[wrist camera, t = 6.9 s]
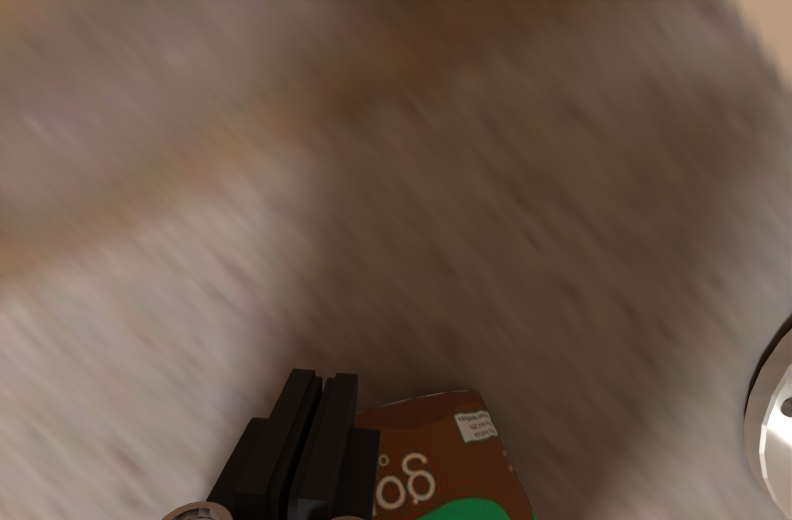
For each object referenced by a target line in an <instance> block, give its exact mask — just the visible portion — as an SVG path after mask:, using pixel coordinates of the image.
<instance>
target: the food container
mask: <svg viewBox="0 0 792 520" xmlns="http://www.w3.org/2000/svg"><path fill="white" fill-rule="evenodd" d="M355 427H357V428H367V429H377V430H381V434H380V446H379V457H378V468H377V478H376V488H375V497H374V506H373V516H372V520H537V518H536V515H535V513H534V511H533V509H532V507H531V505H530V502H529V500H528V498H527V496H526V494H525V492H524V489H523V487H522V485H521V483H520V481H519V479H518V476H517V474H516V472H515V470H514V468H513V466H512V463H511V461H510V459H509V457H508V455H507V453H506V450H505V448H504V446H503V444H502V442H501V440H500V437H499V435H498V433H497V431H496V429H495V426H494V424H493V422H492V420H491V418H490V416H489V413H488V411H487V409H486V407H485V405H484V403H483V400H482V398H481V396H480V394H479V392H478V391H474V390H461V391H448V392H443V393H437V394H431V395H425V396H419V397H414V398H410V399H406V400H402V401H397V402H393V403H389V404H385V405H381V406H376V407H372V408H368V409H365V410H361V411H358V412H356V414H355Z"/></svg>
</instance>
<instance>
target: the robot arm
mask: <svg viewBox="0 0 792 520" xmlns="http://www.w3.org/2000/svg"><path fill="white" fill-rule="evenodd" d="M357 384H358V375H357V374H346V373H337V374H336V376H335V378H329V377H328V379H327V381H326V384H325V387H324V390H323V393H322V377H318V376H316V374H315V370H305V369H295V368H294V369H293V370H292V372H291V374H290V376H289V378H288V380H287V382H286V384H285V386H284V388H283V390H282V392H281V394H280V396H279V398H278V400H277V402H276V404H275V406H274V408H273V411H272V413H271V415H270V417H269V419H265V418H255V417H254V418H252V419H251V420H250V422H249V423H248V425H247V427H246V429H245V431H244V433H243V434H242V436H241V438H240V440H239V442H238V444H237V445H236V447H235V449H234V451H233V453H232V455H231V456H230V458H229V460H228V462H227V464H226V466H225V467H224V469H223V471H222V473H221V475H220V477H219V478H218V480H217V482H216V484H215V486H214V487H213V489H212V491H211V493H210V495H209V497H208V498H207V500H206V502H205V501H202V502H195V503H190V504H187V505H184V506H182V507H179V508H177V509H175V510H174V511H172V512H171V513H169V514H167V515H166V516H165V517H164V518H163V519H162V520H372V516H373V506H374V497H375V488H376V478H377V468H378V457H379V446H380V434H381V430H377V429H367V428H357V427H355V414H356V399H357ZM744 450H745V453H746V456H747V460H748V463H749V466H750V470H751V473H752V474H753V476H754V478H755V479H756V481H757V482H758V484H759V486H760V487H761V489H762V491H763V492H764V493H765V494H766V496H767V497H768V498H769V499H770V500H771V501H772V502H773V503H774V504H775V505H776V506H777V507H778V508H779V509H780V510H781V512H782V513H783V514H784V515H785V516H786V517H787V518H788V519H789V520H792V328H791V330H790V331H789V332H788V333H787V334H786V335H785V336H784V337H783V338H782V339H781V340H780V342H779V343H778V345H777V346H776V348H775V349H774V351H773V352H772V354H771V355H770V357H769V358H768V360H767V361H766V362H765V364H764V365H763V367H762V369H761V371H760V373H759V376H758V378H757V380H756V382H755V385H754V387H753V389H752V391H751V394H750V396H749V401H748V405H747V410H746V415H745V420H744Z"/></svg>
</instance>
